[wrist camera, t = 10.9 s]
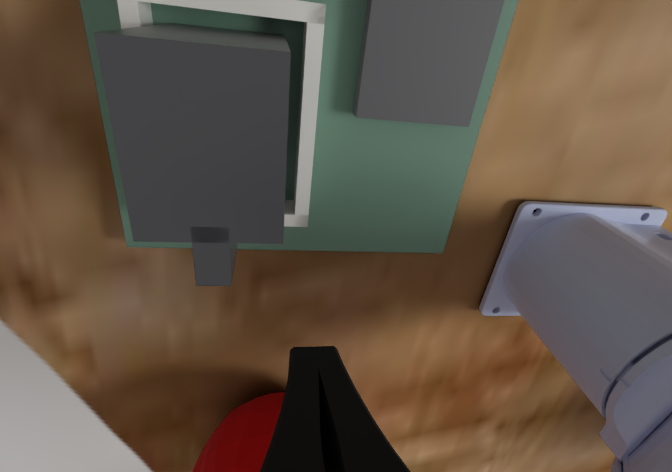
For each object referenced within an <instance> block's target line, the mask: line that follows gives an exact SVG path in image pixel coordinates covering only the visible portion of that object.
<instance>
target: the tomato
mask: <svg viewBox="0 0 672 472" xmlns="http://www.w3.org/2000/svg"><path fill="white" fill-rule="evenodd" d="M284 394H285V392H279V393H270V394H267V395H263V396H260V397H257V398H255V399H253V400H251V401H249V402H247V403H244V404H243V405H241V406H239V407H237V408H235V409H234V410H232V411H230V412H229V414H228V415H227V416H226V417H225V419H224V420H223V421H222V423H221V424H220V425H219V426H218V428H217V429H216V430H215V432H214V433H213V435H212V436H211V438H210V439H209V441H208V442H207V444H206V445H205V447H204V448H203V450H202V452H201V454H200V456H199V458H198V460H197V463H196V465H195V467H194V469H193V472H260V469H261V467H262V464H263V462H264V459H265V456H266V454H267V451H268V448H269V445H270V442H271V439H272V436H273V433H274V430H275V427H276V424H277V420H278V417H279V414H280V410H281V406H282V402H283V398H284Z"/></svg>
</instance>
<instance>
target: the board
mask: <svg viewBox="0 0 672 472" xmlns="http://www.w3.org/2000/svg"><path fill="white" fill-rule="evenodd" d="M517 3H518V0H80V5H81V10H82V15H83V21H84V26H85V31H86V36H87V41H88V47H89V52H90V57H91V62H92V68H93V73H94V78H95V83H96V88H97V94H98V99H99V104H100V109H101V114H102V120H103V125H104V130H105V135H106V141H107V146H108V151H109V156H110V161H111V167H112V172H113V177H114V182H115V188H116V193H117V198H118V203H119V208H120V214H121V219H122V224H123V229H124V234H125V240H126V245H127V247H150V248H192V242H133V236H132V231H131V226H130V221H129V215H128V210H127V205H126V199H125V194H124V189H123V184H122V178H121V173H120V168H119V163H118V157H117V152H116V147H115V141H114V136H113V131H112V126H111V120H110V115H109V110H108V104H107V99H106V94H105V89H104V83H103V78H102V73H101V68H100V62H99V57H98V52H97V46H96V41H95V36H94V32H99V31H108V30H116V29H124V28H133V27H141V26H150V25H158V24H167V23H179V24H188V25H197V26H206V27H215V28H225V29H234V30H243V31H252V32H261V33H270V34H280V35H284V36H285V38H286V41H287V44H288V46H289V49H290V51H291V61H290V86H289V111H288V136H287V162H286V187H285V212H284V237H283V244H255V243H238V246H237V249H254V250H305V251H357V252H408V253H443V251H444V248H445V245H446V241H447V238H448V235H449V231H450V228H451V224H452V221H453V218H454V214H455V211H456V208H457V204H458V201H459V198H460V194H461V191H462V187H463V184H464V181H465V177H466V174H467V171H468V167H469V164H470V161H471V157H472V154H473V151H474V147H475V144H476V140H477V137H478V134H479V130H480V127H481V124H482V120H483V117H484V114H485V110H486V107H487V104H488V100H489V97H490V93H491V90H492V87H493V83H494V80H495V77H496V73H497V70H498V67H499V63H500V60H501V57H502V53H503V50H504V46H505V43H506V40H507V36H508V33H509V30H510V26H511V23H512V20H513V16H514V13H515V10H516V6H517Z"/></svg>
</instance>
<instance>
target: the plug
mask: <svg viewBox="0 0 672 472" xmlns="http://www.w3.org/2000/svg"><path fill="white" fill-rule="evenodd" d="M94 36H95V41H96V46H97V52H98V57H99V62H100V68H101V73H102V78H103V83H104V89H105V94H106V99H107V104H108V110H109V115H110V120H111V126H112V131H113V136H114V141H115V147H116V152H117V157H118V163H119V168H120V173H121V178H122V184H123V189H124V194H125V199H126V205H127V210H128V215H129V221H130V226H131V231H132V236H133V242H192V248H193V258H194V268H195V278H196V286H231V284H232V277H233V271H234V265H235V258H236V252H237V246H238V243H255V244H283V237H284V212H285V187H286V162H287V136H288V111H289V86H290V61H291V51H290V49H289V46H288V44H287V41H286V38H285V36H284V35H280V34H270V33H261V32H252V31H243V30H234V29H225V28H215V27H206V26H197V25H188V24H179V23H167V24H158V25H150V26H141V27H133V28H124V29H116V30H108V31H99V32H94Z"/></svg>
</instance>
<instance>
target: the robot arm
mask: <svg viewBox="0 0 672 472" xmlns="http://www.w3.org/2000/svg"><path fill="white" fill-rule="evenodd" d="M535 209H537V210H536V212H534V213H533V211H534V210H535ZM666 216H667V211H666V210H664V209H663V208H660V207H646V206H624V205H603V204H582V203H561V202H539V201H525V202H523V203H521V204H520V205H519V207H518V208H517V211H516V213H515V216H514V218H513V221H512V224H511V226H510V229H509V231H508V234H507V237H506V239H505V242H504V244H503V247H502V249H501V252H500V255H499V257H498V260H497V262H496V265H495V268H494V270H493V273H492V275H491V278H490V281H489V283H488V286H487V288H486V291H485V293H484V296H483V299H482V301H481V304H480V306H479V310H480V312H481V314H482V315H484V316H520V315H521V316H522V317H523V318H524V319H525V321H526V322H527V323H528V324H529V326H530V327H531V328H532V329H533V331H534V332H535V333H536V334H537V336H538V337H539V338H540V339H541V340H542V342H543V343H544V344H545V345H546V347H547V348H548V349H549V350H550V352H551V353H552V354H553V355H554V357H555V358H556V359H557V360H558V361H559V363H560V364H561V365H562V366H563V368H564V369H565V370H566V371H567V373H568V374H569V375H570V376H571V378H572V379H573V380H574V381H575V382H576V384H577V385H578V386H579V387H580V389H581V390H582V391H583V392H584V394H585V395H586V396H587V397H588V399H589V400H590V401H591V402H592V404H593V405H594V406H595V407H596V408H597V410H598V411H599V412H600V413H601V415H602V416H603V417H604V418H605V419H606V423H605V425H604V427H603V429H602V430H601V431H600V433H599V435H600V436H601V438H602V439H603V440H604V442H605V443H606V444H607V445H608V447H609V448H610V449H611V451H612V452H613V453H614V455H615V456H616V457H615V459H614V461H613V463H612V465H611V472H672V233H671V232H670V231H668V230H666V229H664V228H662V227H661V225H662V223H663V222H664V220H665V218H666ZM494 308H495V309H494ZM260 472H410V470H409V469H408V468H407V466H406V465H405V464H404V462H403V461H402V460H401V458H400V457H399V456H398V454H397V453H396V452H395V450H394V449H393V447H392V446H391V445H390V443H389V442H388V440H387V439H386V437H385V436H384V434H383V433H382V431H381V430H380V428H379V427H378V425H377V424H376V422H375V420H374V419H373V417H372V416H371V414H370V412H369V411H368V409H367V407H366V406H365V404H364V402H363V400H362V399H361V397H360V395H359V393H358V392H357V390H356V388H355V386H354V384H353V382H352V380H351V378H350V376H349V375H348V373H347V370H346V368H345V366H344V364H343V362H342V360H341V357H340V355H339V353H338V350H337V348H335V347H334V346H321V347H294V348H292V349H291V350H290V358H289V372H288V381H287V386H286V391H285V394H284V398H283V402H282V406H281V410H280V414H279V417H278V420H277V424H276V427H275V430H274V433H273V436H272V439H271V442H270V445H269V448H268V451H267V454H266V456H265V459H264V462H263V464H262V467H261V469H260Z"/></svg>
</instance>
